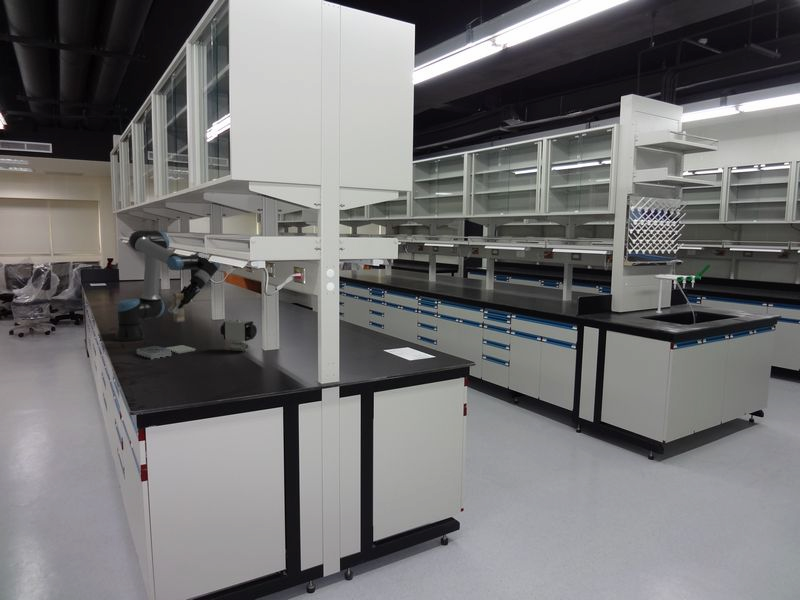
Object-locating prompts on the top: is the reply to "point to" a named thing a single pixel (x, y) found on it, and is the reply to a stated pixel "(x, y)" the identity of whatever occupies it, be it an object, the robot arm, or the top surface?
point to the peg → (180, 315)
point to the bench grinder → (238, 333)
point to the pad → (181, 349)
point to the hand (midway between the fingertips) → (171, 312)
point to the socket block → (154, 352)
